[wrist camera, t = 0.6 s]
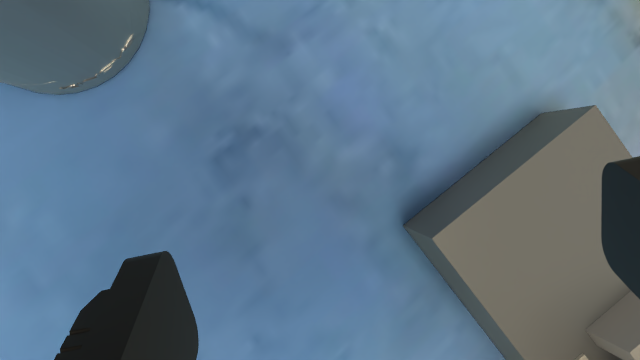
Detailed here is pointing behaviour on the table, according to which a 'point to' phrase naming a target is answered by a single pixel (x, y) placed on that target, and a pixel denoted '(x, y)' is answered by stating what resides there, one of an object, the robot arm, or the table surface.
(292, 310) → the table surface
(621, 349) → the switch box
